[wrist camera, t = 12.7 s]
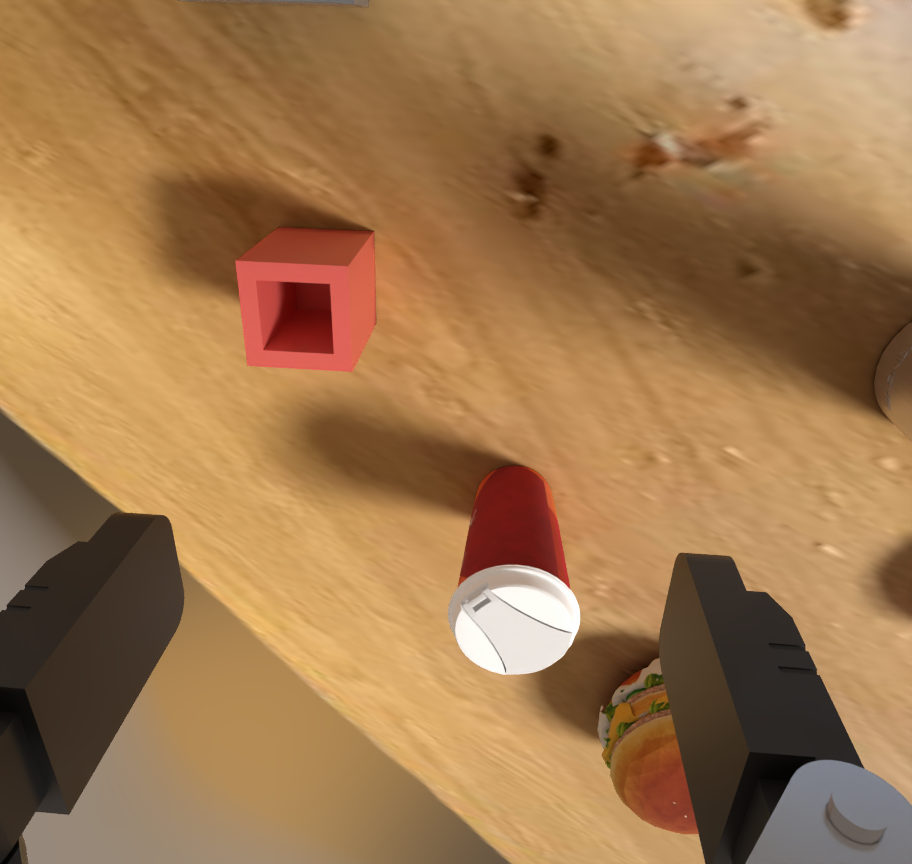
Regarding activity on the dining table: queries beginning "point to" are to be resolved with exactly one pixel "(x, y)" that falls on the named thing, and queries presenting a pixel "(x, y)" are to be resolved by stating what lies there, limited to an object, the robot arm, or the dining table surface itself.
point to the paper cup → (514, 578)
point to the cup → (308, 298)
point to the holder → (296, 2)
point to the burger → (646, 752)
